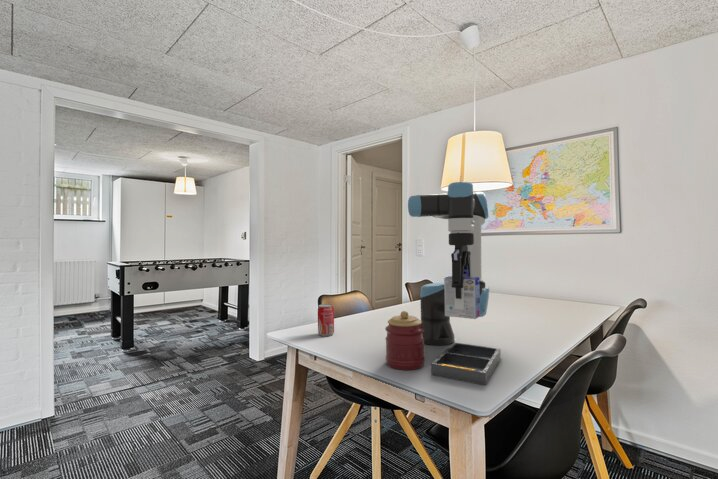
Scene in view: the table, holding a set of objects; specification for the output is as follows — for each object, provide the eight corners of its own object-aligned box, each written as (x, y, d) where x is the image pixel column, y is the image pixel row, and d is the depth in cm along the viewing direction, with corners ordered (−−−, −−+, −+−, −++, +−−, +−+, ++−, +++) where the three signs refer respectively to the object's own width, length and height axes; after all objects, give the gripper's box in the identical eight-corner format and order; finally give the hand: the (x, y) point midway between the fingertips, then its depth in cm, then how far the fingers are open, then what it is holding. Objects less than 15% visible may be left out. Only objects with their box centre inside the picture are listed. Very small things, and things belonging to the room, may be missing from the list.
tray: (431, 375, 109) (431, 363, 109) (454, 351, 131) (454, 341, 131) (485, 385, 101) (485, 372, 101) (500, 358, 123) (500, 348, 123)
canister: (425, 371, 112) (424, 315, 112) (383, 369, 114) (383, 314, 114) (424, 358, 125) (423, 307, 125) (387, 356, 127) (386, 307, 127)
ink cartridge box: (481, 315, 111) (480, 269, 110) (476, 320, 106) (475, 271, 106) (449, 312, 116) (448, 268, 115) (444, 316, 111) (443, 270, 111)
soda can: (337, 333, 158) (337, 304, 158) (327, 337, 152) (327, 307, 152) (324, 331, 162) (324, 303, 162) (314, 335, 156) (314, 305, 156)
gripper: (465, 232, 101) (466, 314, 101) (480, 232, 117) (481, 303, 117) (439, 232, 105) (441, 311, 105) (457, 232, 121) (458, 301, 121)
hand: (462, 307), depth 111 cm, fingers closed on ink cartridge box, 5 cm apart
